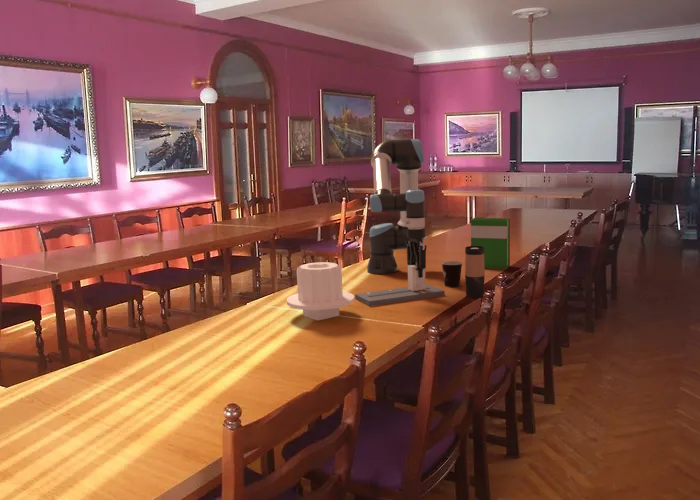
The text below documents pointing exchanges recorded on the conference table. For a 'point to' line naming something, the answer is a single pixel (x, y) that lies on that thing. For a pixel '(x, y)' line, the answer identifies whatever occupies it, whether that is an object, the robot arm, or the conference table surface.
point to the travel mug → (474, 271)
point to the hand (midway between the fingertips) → (416, 283)
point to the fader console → (397, 295)
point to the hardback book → (492, 240)
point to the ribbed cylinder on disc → (320, 291)
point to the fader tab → (414, 279)
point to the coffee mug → (452, 273)
